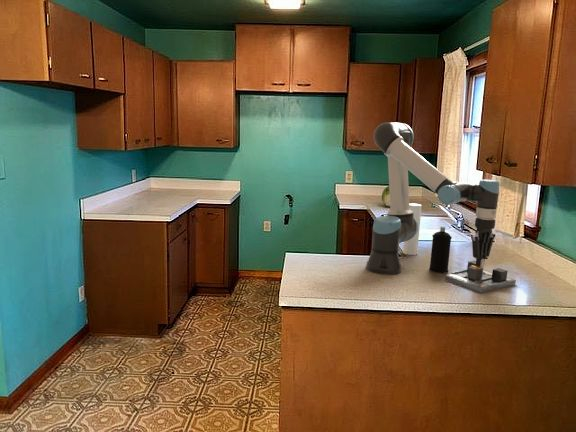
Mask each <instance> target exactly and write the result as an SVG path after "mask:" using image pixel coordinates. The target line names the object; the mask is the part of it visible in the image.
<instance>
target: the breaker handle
mask: <svg viewBox="0 0 576 432" xmlns="http://www.w3.org/2000/svg"><path fill="white" fill-rule="evenodd" d="M467 267H468V266H467ZM483 270H484V269H483V268H480V267H477V266H473V265H472V266H471V267H468V275H467V278H470V279H473V280H479V279H482V272H483Z"/></svg>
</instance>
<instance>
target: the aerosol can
mask: <svg viewBox="0 0 576 432" xmlns="http://www.w3.org/2000/svg"><path fill="white" fill-rule="evenodd" d="M431 237H432V241H431V242H432V243H431V253H430V262H429V268H428V270H429V271H430V272H432V273H436V274H448V273H449V260H450V253H451V243H452V235H450V234H449V233H448V232H446V227H445V226H440V229H439V231H436V232H435V233H433V234H432V236H431Z"/></svg>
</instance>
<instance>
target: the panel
mask: <svg viewBox="0 0 576 432" xmlns="http://www.w3.org/2000/svg"><path fill="white" fill-rule="evenodd" d="M472 265H473V266H476V260H470V261H468V262H467V268H466V269H462V270H458V271H453V272H452V271H451V272H450V273H449V274H448V273H447V274H445V275H444V279H445V280H444V281H447V280H448V281H447V282H449V281H451V282H450V283H452V282H453V284H455V283H456V285H458V284H459V285H458V286H460V285H461V287H463V286H464V287H463V288H466V287H467V288H466V289H468V288H469V289H468V290H471V291H475V292H477V293H479V294H484V293H487V292H488V293H489V292H491V291H496V290H500V289H504V288H508V287H511V286H515V285H516V281H517V280H516V279H513V278H509V277H508V269H507V270H506V269H502V268H500V267H498V268H492V271H488V270H485V269H483V274H482V279H479V280H473V279H470V278H467V275H468V267H471V266H472Z"/></svg>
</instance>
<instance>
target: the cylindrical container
mask: <svg viewBox="0 0 576 432" xmlns="http://www.w3.org/2000/svg"><path fill="white" fill-rule="evenodd" d="M409 206H410V210H412V211H413V217H414V219H415V220H416V221H417V224H418V230H417V233H416V235H415V236H414V237H413V238H411V239H410V240H408V241H405V242H402V243H403V246H402V254H404V255H407V254H408V256H416V254H417V255H418V251H419V250H418V249H419V237H420V226H421V218H422V217H421V216H422V204H419V203H414V202H413V203H410V202H409Z"/></svg>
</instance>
